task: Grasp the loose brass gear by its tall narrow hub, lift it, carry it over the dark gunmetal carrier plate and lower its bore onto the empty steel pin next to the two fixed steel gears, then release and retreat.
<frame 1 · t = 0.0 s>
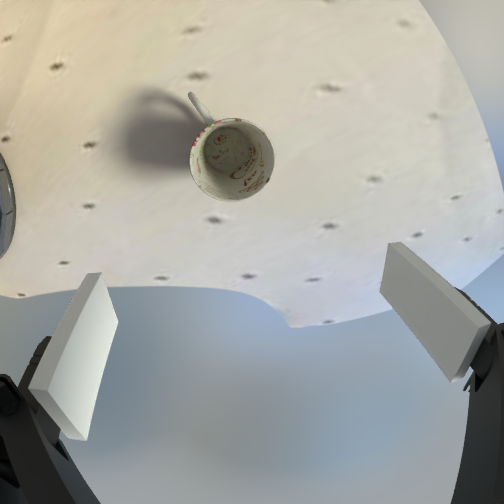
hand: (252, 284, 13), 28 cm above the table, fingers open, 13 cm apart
mug: (217, 135, 36), on the table
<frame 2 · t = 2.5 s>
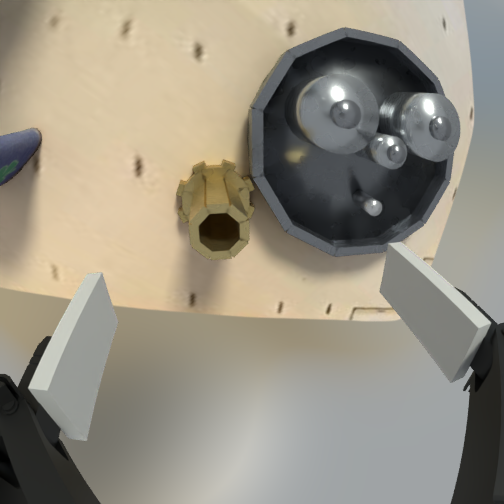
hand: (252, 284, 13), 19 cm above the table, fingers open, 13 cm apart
flask: (17, 157, 25), on the table
carrier: (357, 142, 30), on the table
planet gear: (215, 196, 31), on the table
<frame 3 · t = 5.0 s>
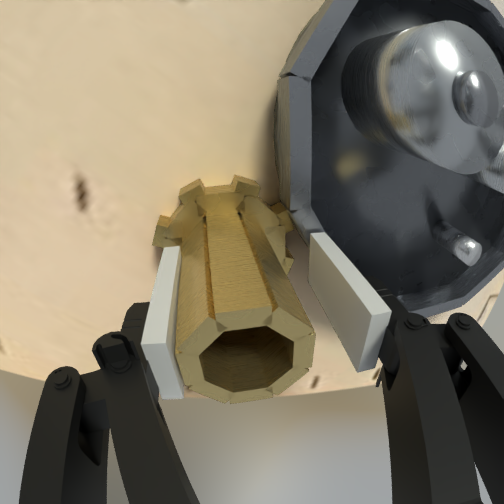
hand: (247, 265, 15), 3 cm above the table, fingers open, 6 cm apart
carrier: (440, 145, 17), on the table
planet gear: (223, 241, 18), on the table, touching carrier, gripper
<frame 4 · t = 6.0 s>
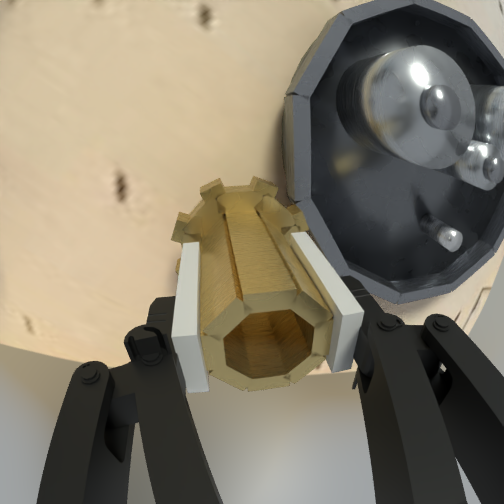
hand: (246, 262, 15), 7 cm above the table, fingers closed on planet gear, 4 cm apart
carrier: (425, 148, 20), on the table
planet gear: (239, 240, 18), point 3 cm above the table, touching gripper
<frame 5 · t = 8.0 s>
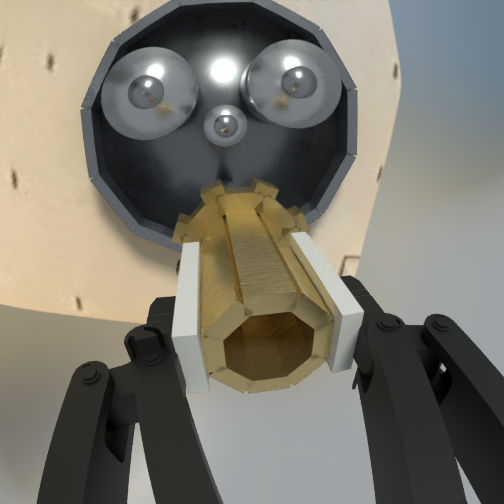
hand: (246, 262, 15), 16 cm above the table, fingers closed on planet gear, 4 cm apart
carrier: (220, 122, 26), on the table
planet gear: (239, 241, 18), point 12 cm above the table, touching gripper
when the fingers open (6 cm above the table, at t = 10.0 s): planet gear stays where it is, resting on carrier.
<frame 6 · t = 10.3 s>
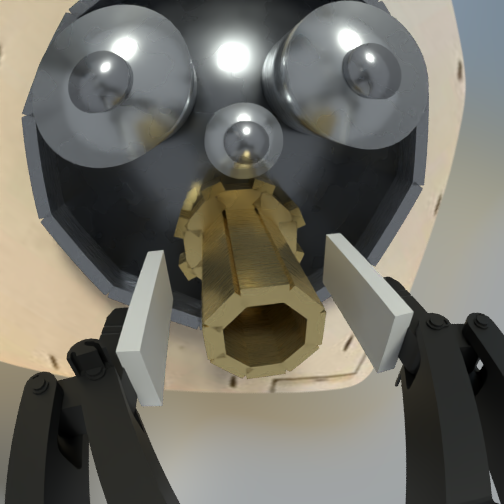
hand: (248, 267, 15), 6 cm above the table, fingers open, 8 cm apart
carrier: (230, 130, 17), on the table
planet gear: (238, 234, 19), point 1 cm above the table, touching carrier
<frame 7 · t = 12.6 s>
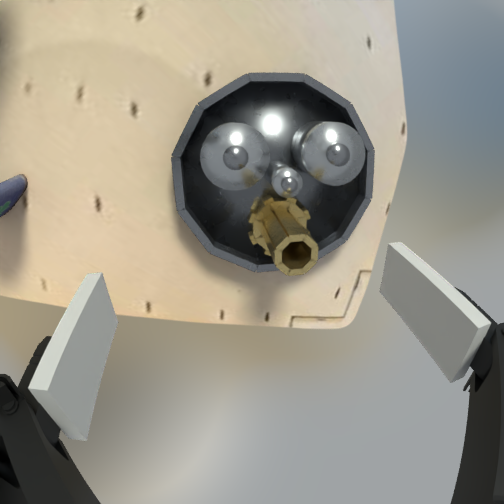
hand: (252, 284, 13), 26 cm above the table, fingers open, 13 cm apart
flask: (10, 196, 33), on the table
carrier: (274, 171, 37), on the table
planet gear: (277, 223, 38), point 1 cm above the table, touching carrier
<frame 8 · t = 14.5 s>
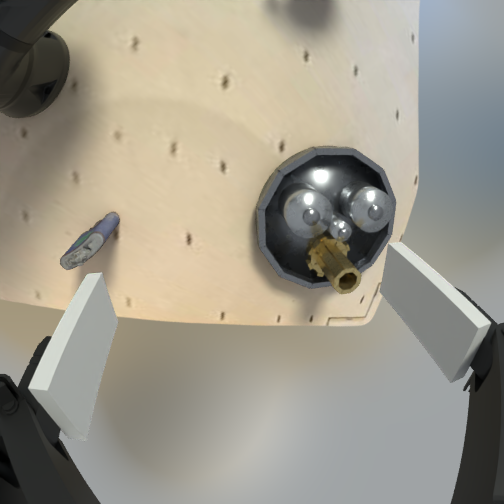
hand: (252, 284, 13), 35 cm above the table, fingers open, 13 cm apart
flask: (99, 229, 46), on the table
carrier: (325, 216, 51), on the table
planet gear: (326, 253, 52), point 1 cm above the table, touching carrier
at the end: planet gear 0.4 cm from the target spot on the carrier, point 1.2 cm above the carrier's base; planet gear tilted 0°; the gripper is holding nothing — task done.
